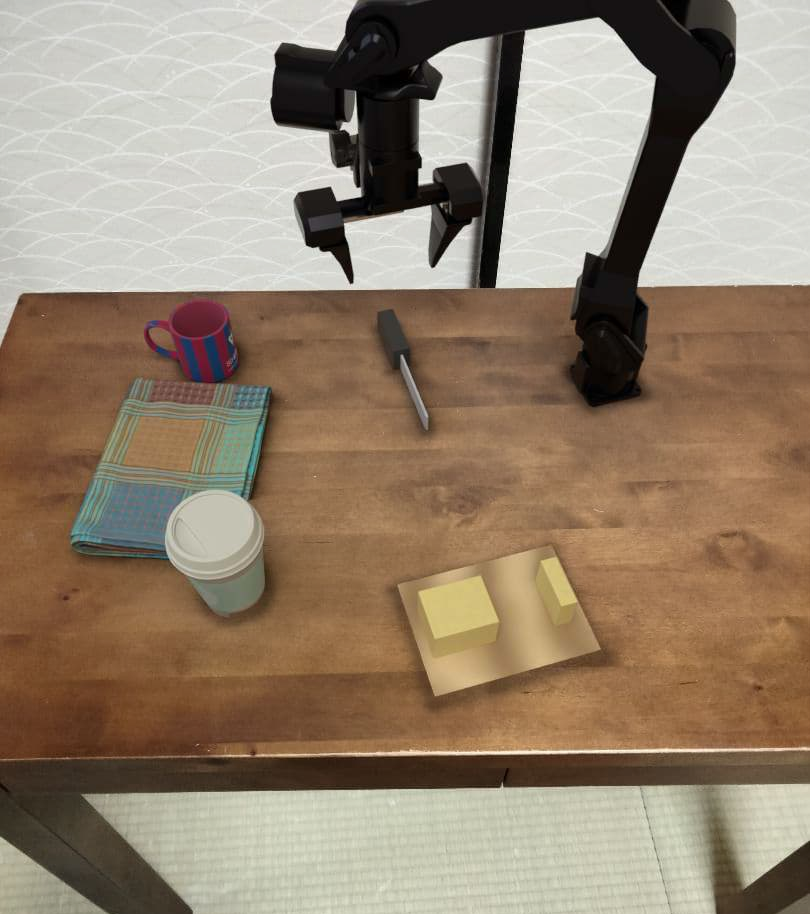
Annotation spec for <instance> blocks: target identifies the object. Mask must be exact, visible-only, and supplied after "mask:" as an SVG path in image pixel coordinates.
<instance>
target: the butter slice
mask: <svg viewBox="0 0 810 914" xmlns="http://www.w3.org/2000/svg"><path fill="white" fill-rule="evenodd" d="M557 557H558V556H557ZM557 557H553V558H549V559H546V560H542V561H540V565H539V569H538V573H537V577H536V581H535V584H536V586H537V588H538V591H539V593H540V595H541V597H542V600H543V602H544V604H545V606H546V609H547V611H548V613H549V615H550V617H551V620H552V622H553V624H554V626H555V627H556V626H560V625H564V624H567V623H570V622H571V620H572V617H573V614H574V611H575V608H576V605H577V603H578V601H579V600H578V601H577V599H578V598H577V599H576V597H577V596H576V597H575V595H576V594H575V595H574V593H575V592H574V593H573V591H574V590H573V591H572V589H573V588H572V589H571V587H572V585H571V583H570V584H569V582H570V581H569V582H568V580H569V579H568V580H567V578H568V577H567V578H566V576H567V575H566V576H565V574H566V573H565V574H564V572H565V571H564V572H563V570H564V568H563V566H562V564H561V565H560V563H561V562H560V563H559V561H560V560H559V561H558V559H559V558H558V559H557ZM561 566H562V567H561ZM562 568H563V569H562ZM570 585H571V586H570Z"/></svg>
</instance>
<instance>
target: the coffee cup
mask: <svg viewBox="0 0 810 914" xmlns="http://www.w3.org/2000/svg"><path fill="white" fill-rule="evenodd" d="M264 540H265V527H264V522H263V520H262V518H261V516H260V514H259V513H258V511H257V510H256V509H255V507H254V506H253V505H252V504H251V503H250V502H249V501H248V502H247V501H245V500H244V499H243V498H242V497H240V496H239V495H237V494H235V493H232V492H229V491H225V490H207V491H203V492H199V493H196V494H194V495H192V496H190V497H188V498H187V499H185V500H184V501H182V502H181V503H180V504H179V505H178V506H177V507H176V508H175V509H174V511H173V512H172V514H171V516H170V518H169V521H168V524H167V529H166V533H165V545H166V551H167V555H168V557H169V559H168V560H169V561H170V563H171V564H172V565H173V566H174V567H175V568H176V569H177V570H178V571H180V572H181V573H182V574H184V575H185V577H186V578H187V579H188V581H189V582H190V583H191V585H192V587H194V589H195V590H196V591H197V593H198V595H200V597H201V598H202V599H203V601H204V602H205V603H206V605H207V606H208V607H209V609H210V610H211V611H212V612H213V613H215V614H216V615H218V616H220V617H223V618H227V619H231V615H230V614H235V613H241V612H244V611H246V610H248V609H250V608H252V606H254V605H255V604H256V603H258V601H259V600H260V598H262V595H263V594H264V591H265V588H266V576H265V563H264V549H263V544H264Z"/></svg>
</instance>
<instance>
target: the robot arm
mask: <svg viewBox="0 0 810 914" xmlns="http://www.w3.org/2000/svg"><path fill="white" fill-rule="evenodd" d="M592 19H600V20H601V21H602V22H603V23H605V24H606V25H607V26H609V27H610V28H611V29H612V30H613V32H615V34H616V35H617V36H618V37H619V39H620V40H621V41H622V42H623V44H624V45H625V46H626V47H627V49H628V50H629V51H630V52H631V54H632V55H633V56H634V58H636V60H637V61H638V62H639V64H640V65H642V67H644V68H645V69H646V70H647V71H649V72H650V73H651V74H652V75H654V82H653V89H652V97H651V104H650V110H649V111H650V112H649V116H648V117H647V122H646V125H645V128H644V131H643V133H642V137H641V140H640V143H639V146H638V148H637V152H636V155H635V158H634V162H633V164H632V168H631V169H630V173H629V176H628V178H627V179H628V180H627V182H626V186H625V188H624V192H623V195H622V198H621V201H620V204H619V207H618V210H617V213H616V216H615V220H614V222H613V225H612V229H611V232H610V235H609V238H608V240H607V243H606V245H605V247H604V249H603V250H602V251H601V252H600V253H599V254H598V255H597V254H594V253H591V252H588V251H586V252H585V253H584V254H585V255H584V261H583V266H582V272H581V274H579V276H578V277H577V278H576V282H575V289H574V292H573V293H574V294H573V300H572V306H571V310H570V317H569V320H570V321H571V322H572V321H575V323H574V334H575V335H576V337H578V338H579V339H580V340H581V341H582V346H581V349H580V350H578V351H577V354H576V357H575V363H573V364H572V363H571V364H570V365H569V369H568V370H569V372H570V374H571V378H572V380H573V382H574V383H575V385H576V386H577V388H578V391H579V392H580V393H581V394H582V395H583V397H584V398H585V400H586V402H587V404H588V405H589V406H590V407H597V406H602V405H605V404H606V405H607V404H610V403H614V402H617V401H622V400H627V399H631V398H636V397H640V396H641V395H642V393H643V389H642V387H641V386H640V384H639V383H638V382H637V380H638V377H639V374H640V370H641V367H642V365H643V362H644V361H645V355H646V352H647V349H648V344H647V333H648V325H649V313H650V306H649V305H648V303H647V302H646V301H645V300H644V299H643V297H642V296H641V295H640V294H639V293H638V287H639V286H638V285H639V279H640V273H641V270H642V267H643V265H644V262H645V259H646V257H647V254H648V251H649V249H650V246H651V244H652V241H653V238H654V236H655V233H656V231H657V228H658V225H659V223H660V220H661V217H662V214H663V212H664V209H665V207H666V204H667V202H668V199H669V197H670V193H671V191H672V188H673V185H674V183H675V180H676V178H677V175H678V173H679V170H680V167H681V164H682V162H683V159H684V157H685V154H686V152H687V149H688V146H689V144H690V142H691V140H692V138H693V137H694V135H695V134H696V133H697V132H698V131H699V130H700V129H701V128H702V126H703V125H704V124H705V123H706V122H707V120H708V119H710V117H711V115H712V114H713V112H714V110H715V108H716V107H717V105H718V103H719V102H720V100H721V98H722V97H723V95H724V94H725V92H726V90H727V88H728V87H729V85H730V83H731V81H732V79H733V77H734V74H735V69H736V64H737V14H736V12H735V9H734V6H733V5H732V3H731V2H730V1H729V0H356V2H355V4H354V5H353V8H352V9H351V11H350V12H349V15H348V17H347V19H346V21H345V29H344V36H343V37H342V38H341V41H340V43H339V44H338V47H337V48H336V50H331V49H326V48H325V49H324V48H317V47H316V48H315V47H306V46H302V45H299V44H296V43H293V42H284V41H282V42H281V43H280V44H279V46H278V47H277V49H276V50H275V52H274V54H273V58H274V66H275V67H274V71H273V76H272V83H271V84H272V85H271V97H270V100H269V105H270V112H271V116H272V119H273V122H274V123H275V125H276V126H277V127H282V128H283V127H284V128H292V129H299V130H307V131H315V132H323V133H328V143H329V144H328V145H329V146H328V147H329V153H330V159H331V164H332V165H333V166H334V167H335V168H336V169H343V168H347V167H349V169H350V171H351V172H352V176H353V177H352V178H353V179H352V180H353V184H354V186H355V188H356V189H360V196H358V197H353V198H347V199H342V200H337V198H336V195H335V193H334V190H333V188H332V186H326V187H320V188H314V189H308V190H303V191H298V192H297V193H296V194H295V197H294V198H293V200H292V202H293V203H292V204H293V211H294V217H295V219H296V220H295V221H296V222H297V225H298V228H299V231H300V233H301V236H302V239H303V242H304V244H305V247H308V248H310V249H317V248H318V250H319V251H320V252H322V253H331V255H332V256H333V258H334V259H335V260H336V261H337V262H338V264H339V266H340V267H341V270H342V271H343V273H344V275H345V277H346V279H347V281H348V283H349V285H353V284H354V283H355V282H354V281H355V273H354V268H353V262H352V256H351V250H350V245H349V242H348V239H347V237H346V227H345V224H348V223H353V222H359V221H365V220H369V219H375V218H381V217H386V216H392V215H397V214H403V213H404V212H405V211H408V210H414V209H419V208H423V207H429V206H430V209H431V210H430V211H431V212H430V213H431V217H430V228H429V236H428V237H429V238H428V247H427V253H428V254H427V255H428V264H429V267H430V268H431V269H435V268H436V266H437V265H438V263H439V262H440V260H441V258H442V257H443V255H444V254H445V253H446V251H447V249H448V248H449V247H450V245H451V243H452V242H453V241H454V240H455V238H456V237H457V236H458V235H459V233H460V232H461V231H462V230H463V228H465V227H466V226H470V225H472V224H473V220H474V219H475V218H480V217H483V215H484V214H485V213H486V207H487V195H486V189H485V187H484V186H483V183H482V182H481V181H480V179H479V177H478V175H477V173H476V172H475V170H474V169H473V167H472V166H471V165H470V164H469V163H468V162H460V163H456V164H450V165H444V166H438V167H435V168H434V169H433V170H432V177H431V178H432V180H431V181H432V182H428V183H423V184H419V183H420V182H419V181H420V178H419V177H420V176H419V175H420V173H419V172H420V169H423V157H422V155H421V153H420V100H423V101H434V100H435V99H436V97H437V94H438V92H439V89H440V87H441V85H442V83H443V79H444V75H443V74H442V73H441V72H440V71H439V70H438V69H437V68H436V67H434V66H433V65H432V64H431V63H430V62H429V61H428V60H430V59H432V58H434V57H435V56H437V55H438V54H440V53H441V52H443V51H445V50H446V49H448V48H451V47H453V46H456V45H458V44H460V43H461V44H462V43H465V42H466V43H467V42H470V41H476V40H481V39H488V38H492V37H498V36H503V35H509V34H514V33H522V32H527V31H531V30H537V29H543V28H547V27H554V26H559V25H565V24H570V23H575V22H581V21H588V20H592ZM355 105H356V121H357V123H356V125H357V133H356V134H350V132H349V131H347V129H342V126H343V124H344V123H346V124H347V123H348V124H349V123H350V122H351V121H352V119H353V115H354V111H355Z"/></svg>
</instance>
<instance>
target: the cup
mask: <svg viewBox="0 0 810 914" xmlns="http://www.w3.org/2000/svg"><path fill="white" fill-rule="evenodd" d="M152 328H159V329H163V330H165V331H167V332H168V333H170V335H171V338H172V341H173V345H174V348H175V350H170V349H166V348H164V347H162V346H159V345H158V344H157V343H156V342H155V341H154V340H153V338H152V337H151V335H150V329H152ZM143 337H144V340H145V343H146V344H147V346H148V347H149V349H151V350H152V351H153V352H154V353H156V354H158V355H160V356H162V357H165V358H167V359H173V360H177V361H179V363H180V366H181V369H182V371H183V374H184V375H185V376H186V377H187V378H188V379H190V380H191V381H192V382H200V383H218V382H222V381H224V380H226V379H227V378H229V377H230V376H232V374H234V372H235V371H237V368H238V366H239V362H240V358H239V353H238V350H237V346H236V341H235V336H234V333H233V328H232V323H231V319H230V316H229V312H228V310H227V308H226V307H225V306H224V305H223V304H221V302H218V301H216V300H213V299H207V298H206V299H205V298H199V299H192V300H189V301H186V302H184V303H181V304H180V305H178V306H177V307H176V308H174V309H173V310H172V312H171V313H170V315H169V317H168V321H167V320H161V319H160V320H159V319H154V320H150V321H148V322H147V323H146V324H145V326H144V328H143Z"/></svg>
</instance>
